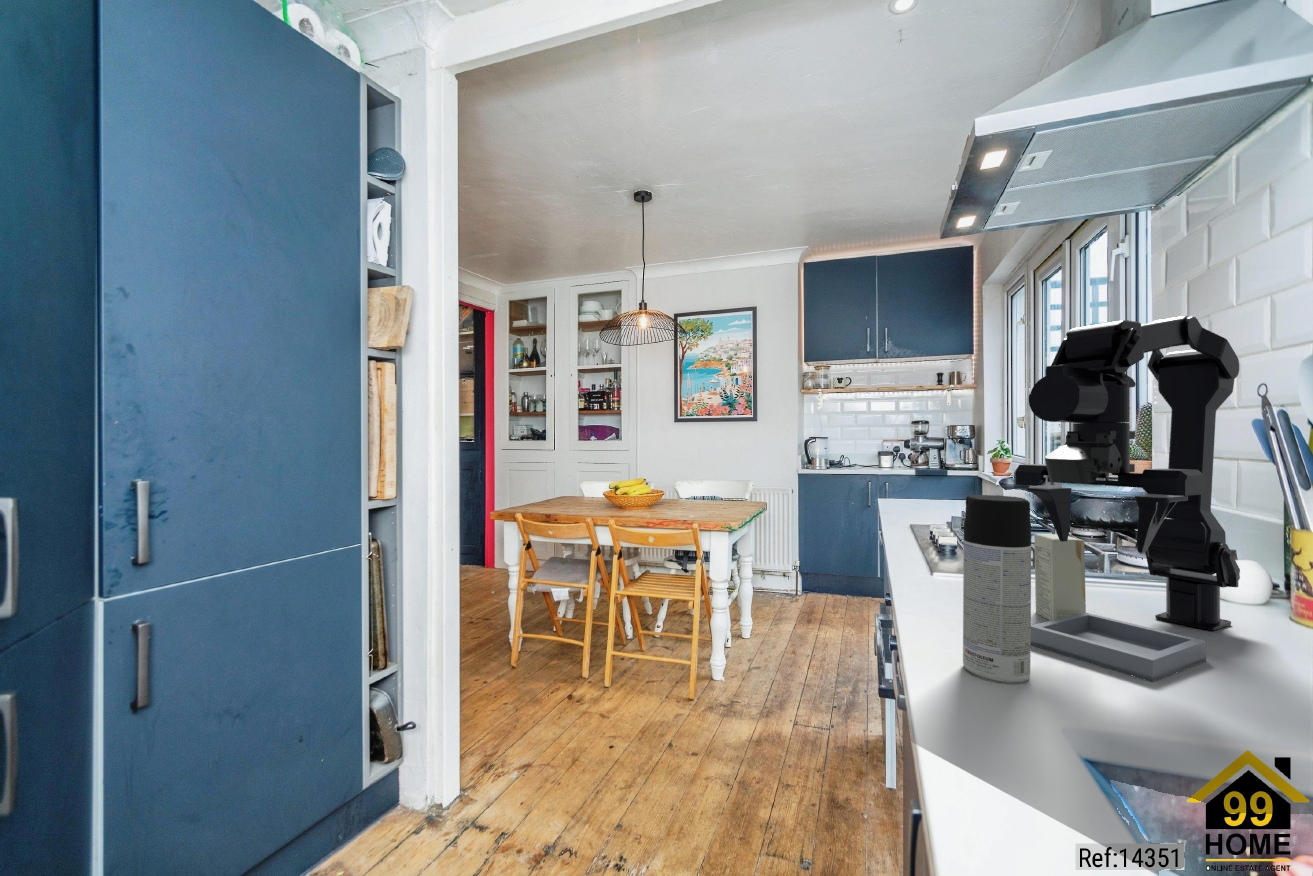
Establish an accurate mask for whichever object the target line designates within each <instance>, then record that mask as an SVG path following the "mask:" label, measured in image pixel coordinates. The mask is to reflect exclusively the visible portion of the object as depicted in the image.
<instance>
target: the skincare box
mask: <svg viewBox="0 0 1313 876" xmlns="http://www.w3.org/2000/svg"><path fill="white" fill-rule="evenodd" d="M1033 535H1034V537H1033V538H1034V539H1033V541H1034V581H1035V582H1034V584H1035V586H1034V588H1035V613H1037V614H1038V615H1039V616H1041V617H1043V618H1045V619H1046V620H1048V621H1051V620H1055V619H1059V618H1063V617H1067V616H1071V615H1075V614H1079V613H1083V612H1086V613H1087V609H1086V608H1087V607H1086V605H1087V604H1086V602H1087V601H1086V600H1087V599H1086V567H1085V566H1086V559H1085V556H1086V555H1085V551H1086V550H1085V540H1083V539H1080V538H1077V537H1072V536H1069V535H1068V540H1067V541H1065V542H1062V541H1060V540H1059V537H1058V535H1057V533H1056V534H1055V533H1034V534H1033Z"/></svg>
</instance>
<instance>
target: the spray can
mask: <svg viewBox="0 0 1313 876" xmlns="http://www.w3.org/2000/svg"><path fill="white" fill-rule="evenodd" d="M962 551H963V557H962V558H963V560H962V561H963V562H962V563H963V567H962V568H963V569H962V571H963V573H962V574H963V576H962V578H963V579H962V580H963V581H962V582H963V583H962V584H963V588H962V590H963V594H962V595H963V599H962V600H963V601H962V612H963V613H962V664H963V665H962V666H963V668H964V670H965V671H966V672H967V673H968V674H969V675H971V676H974V677H977V678H979V679H982V680H985V681H988V682H993V683H999V684H1011V685H1012V684H1013V685H1015V684H1024V683H1026V682H1027V681H1028V680H1029V679H1030V675H1031V650H1032V649H1031V647H1032V646H1031V625H1032V622H1031V620H1032V619H1031V618H1032V614H1031V613H1032V612H1031V611H1032V525H1031V503H1030V501H1029V500H1028V499H1027V498H1023V497H1017V496H1010V495H1009V496H1008V495H988V494H980V495H979V494H974V495H968V496H966V498H965V518H964V521H963V550H962Z"/></svg>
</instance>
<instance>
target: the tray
mask: <svg viewBox="0 0 1313 876" xmlns="http://www.w3.org/2000/svg"><path fill="white" fill-rule="evenodd" d="M1031 647H1035V648H1038V649H1042V650H1044V651H1048V652H1051V653H1054V654H1057V655H1060V656H1065V657H1067V658H1070V659H1074V660H1077V661H1080V662H1084V663H1086V664H1087V663H1088V664H1091V665H1095V666H1098V667H1101V668H1104V669H1107V670H1111V671H1114V672H1118V673H1121V674H1124V675H1127V676H1130V675H1133V676H1135V677H1134V678H1137V677H1138V678H1137V679H1140V678H1141V680H1143V679H1145V680H1144V681H1147V680H1148V682H1150V681H1151V682H1150V683H1155V682H1157V681H1160V680H1163V679H1165V678H1167V677H1166V676H1168V677H1170V676H1172V674H1173V675H1175V674H1177V673H1176V672H1178V673H1180V672H1183V671H1186V670H1188V669H1190V668H1193V667H1195V666H1198V665H1200V664H1203V663H1206V662H1207V640H1203V639H1198V638H1194V637H1190V636H1187V635H1186V636H1185V635H1183V634H1177V633H1173V632H1169V631H1165V630H1161V629H1157V628H1153V627H1149V626H1144V625H1139V624H1136V623H1132V622H1128V621H1124V620H1119V619H1114V618H1111V617H1106V616H1102V615H1097V614H1095V613H1089V612H1087V611H1086V612H1083V613H1079V614H1075V615H1071V616H1067V617H1063V618H1059V619H1055V620H1051V621H1049V620H1048V621H1043V622H1040V623H1036V624H1031ZM1187 668H1188V669H1187ZM1174 673H1175V674H1174ZM1169 675H1170V676H1169ZM1133 676H1132V677H1133ZM1164 677H1165V678H1164ZM1162 678H1163V679H1162ZM1159 679H1160V680H1159ZM1156 680H1157V681H1156ZM1154 681H1155V682H1154Z"/></svg>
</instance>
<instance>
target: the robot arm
mask: <svg viewBox="0 0 1313 876" xmlns="http://www.w3.org/2000/svg"><path fill="white" fill-rule="evenodd" d="M1065 336H1066V337H1065V338H1064V339H1063V340H1062V341H1061V343H1060V345H1059V347H1058V350H1057V352H1056V354H1055V356H1054V358H1053V361H1052V363H1051V365H1047V366H1046V367H1045V376H1043V377H1041V378H1039V380H1038V381H1036V383H1034V385H1033V387H1032V388H1031V391H1030V393H1029V395H1028V404H1029V409H1030V410H1031V412H1032V413H1033V414H1034V416H1035V417H1037V418H1038V419H1040V420H1042V421H1044V422H1050V423H1072V431H1071V430H1070V431H1066V435H1065V443H1064V445H1062V446H1059V447H1057V448H1056V449H1054V450H1053V451H1051V452H1050V453H1048V454H1046V455H1045V456H1044V461H1045V464H1044V463H1031V464H1030V463H1027V464H1018V466H1017V467H1016V469H1015V470H1014V472H1013V484H1014V485H1018V486H1029V487H1026V488H1025V490H1026V491H1027V492H1028V493H1033V494H1034V495H1035V496H1036V497H1037V498H1039V500H1040V501H1041V502H1042V503H1043V505H1044V507H1045V510H1046V511H1047V513H1048V515H1049V518H1050V521H1051V522H1052V525H1053V527H1054V530H1055V532H1056V534H1057V535H1058V537H1059V540H1060V541H1062V542H1065V541H1067V540H1068V536H1069V534H1070V533H1069V532H1070V529H1071V528H1070V526H1071V525H1070V524H1071V507H1072V505H1071V503H1072V487H1064V486H1063V484H1076V485H1087V486H1088V485H1091V486H1106V487H1108V486H1109V487H1120V488H1121V487H1123V488H1138V489H1139V488H1141V489H1143V491H1144V492H1145V493H1144V495H1136V496H1135V495H1134V499H1135V502H1136V504H1137V508H1138V516H1137V519H1138V520H1137V530H1136V531H1137V532H1136V547H1137V548H1136V549H1137V552H1138V553H1139V554H1145V558H1146V561H1147V562H1146V563H1147V567H1148V573H1149V575H1150V576H1159V577H1163V578H1164V577H1165V581H1166V582H1165V584H1166V585H1165V587H1166V588H1165V591H1166V593H1165V596H1166V597H1165V598H1166V600H1165V605H1166V606H1165V609H1166V611H1165V612H1160V613H1158V614H1155V619H1157V620H1161V621H1166V622H1170V623H1174V624H1179V625H1184V626H1187V627H1193V628H1197V629H1202V630H1206V631H1216V630H1220V629H1222V628H1224V627H1228V626H1231V625H1232V621H1231V620H1229V619H1222V618H1221V588H1227V587H1228V588H1238V587H1239V581H1240V578H1241V576H1240V574H1241V569H1240V568H1239V567H1240V566H1239V565H1238V563H1237V561H1236V559H1235V557H1234V555H1233V553H1232V552H1231V550H1230V547H1229V546H1228V544H1227V542H1226V531H1225V529H1224V528H1223V526H1222V525H1221V524H1220V523H1219V521H1218V520H1217V518H1216V517H1215V515H1214V514H1213V513H1212V508H1211V507H1212V492H1213V476H1214V474H1213V473H1214V472H1213V471H1214V458H1215V457H1214V455H1215V454H1214V452H1215V436H1216V434H1215V433H1216V416H1217V410H1218V409H1219V408H1220V407H1221V406H1222V405H1223V404H1224V402H1225V401H1226V400H1227V399H1228V398H1229V397H1230V396H1231V395H1232V394H1233V392H1234V385H1235V379H1236V378H1237V377H1238V376H1239V373H1240V360H1239V358H1238V356H1237V354H1236V352H1235V350H1234V349H1233V346H1231V344H1230V342H1229V340H1228V339H1227V338H1226V337H1223V336H1221V335H1219V334H1217V333H1215V332H1212V331H1210V330H1208V329H1206V328H1204V327H1203V326H1202V325H1201V323H1200V322H1199V320H1198V318H1197V317H1196V316H1188V315H1183V316H1177V317H1176V316H1175V317H1169V318H1163V319H1156V320H1154V321H1152V322H1150V323H1144V324H1142V323H1141V322H1139V321H1134V320H1127V319H1125V320H1117V321H1112V322H1106V323H1099V324H1093V325H1087V326H1086V325H1085V326H1080V327H1075V328H1074V327H1073V328H1071V329H1069V330H1068V331H1067V332H1066V334H1065ZM1179 346H1189V347H1190V348H1191V349H1189V350H1188V349H1187V350H1180V351H1171V352H1168V353H1166V354H1165V355H1164V353H1162V351H1161V350H1163V349H1167V348H1168V349H1169V348H1172V347H1179ZM1150 352H1151V354H1150V357H1149V360H1148V363H1147V368H1148V370H1149V371H1150V372H1151V374H1152V375H1153V377H1154V379H1155V380H1156V382H1157V383H1158V384H1157V386H1158V392H1159V394H1160V395H1161V397H1162V399H1164V400H1165V402H1166V403H1167V404H1168V406H1169V407H1170V410H1171V412H1170V413H1171V415H1170V432H1169V433H1170V434H1169V449H1168V450H1169V451H1168V466H1167V468H1146V469H1143V471H1142V472H1135V471H1136V470H1135V469H1136V468H1135V466H1136V464H1135V463H1131V460H1130V459H1131V458H1130V457H1131V455H1130V452H1131V451H1130V449H1131V448H1130V447H1131V446H1130V445H1131V443H1130V442H1131V440H1136V439H1135V438H1136V435H1135V433H1136V431H1135V430H1130V428H1131V426H1130V423H1131V422H1130V420H1131V419H1130V418H1131V417H1130V414H1131V413H1130V411H1131V410H1130V409H1131V408H1130V401H1131V399H1130V394H1131V393H1130V389H1131V388H1135V387H1136V385H1137V384H1136V381H1135V379H1133V378H1132V377H1130V376H1129V375H1128V374H1127V373H1126V372H1127V371H1128V370H1129V368H1130V367H1132V366H1133V365H1136V364H1137V363H1138V362H1140V361H1142V360H1144V358H1145V354H1147V353H1150ZM1108 474H1110V475H1111V476H1108Z"/></svg>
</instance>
